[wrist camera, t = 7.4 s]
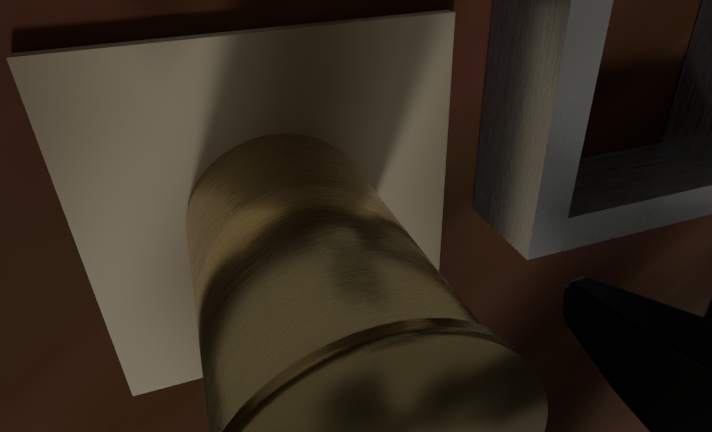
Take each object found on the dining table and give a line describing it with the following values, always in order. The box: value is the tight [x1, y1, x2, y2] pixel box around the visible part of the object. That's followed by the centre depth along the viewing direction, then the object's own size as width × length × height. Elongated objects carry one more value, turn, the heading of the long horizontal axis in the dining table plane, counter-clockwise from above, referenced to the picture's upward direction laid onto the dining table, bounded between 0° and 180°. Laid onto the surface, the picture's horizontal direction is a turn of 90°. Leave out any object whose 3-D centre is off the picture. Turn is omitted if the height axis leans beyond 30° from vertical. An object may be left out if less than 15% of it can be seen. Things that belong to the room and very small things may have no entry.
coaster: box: [7, 10, 455, 396], centre depth 14 cm, size 10×10×1 cm
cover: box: [186, 133, 548, 432], centre depth 11 cm, size 5×5×8 cm
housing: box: [473, 0, 712, 260], centre depth 15 cm, size 8×8×3 cm
